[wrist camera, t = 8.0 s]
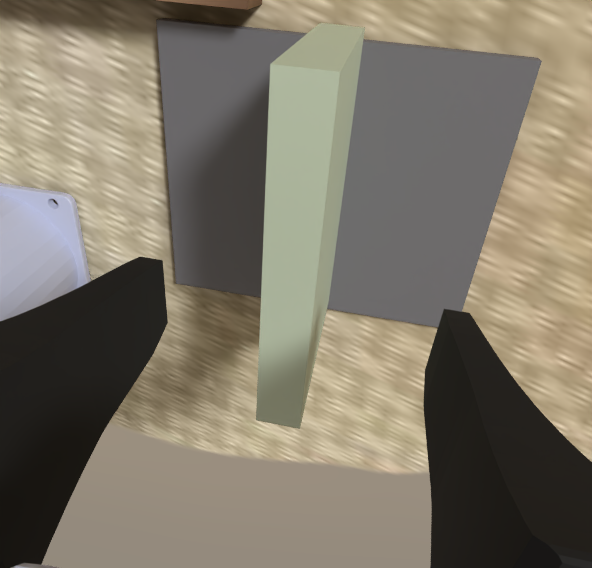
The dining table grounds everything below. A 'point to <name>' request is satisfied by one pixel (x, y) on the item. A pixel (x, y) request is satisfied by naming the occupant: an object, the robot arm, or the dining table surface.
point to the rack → (223, 3)
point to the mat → (359, 172)
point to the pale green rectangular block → (303, 209)
